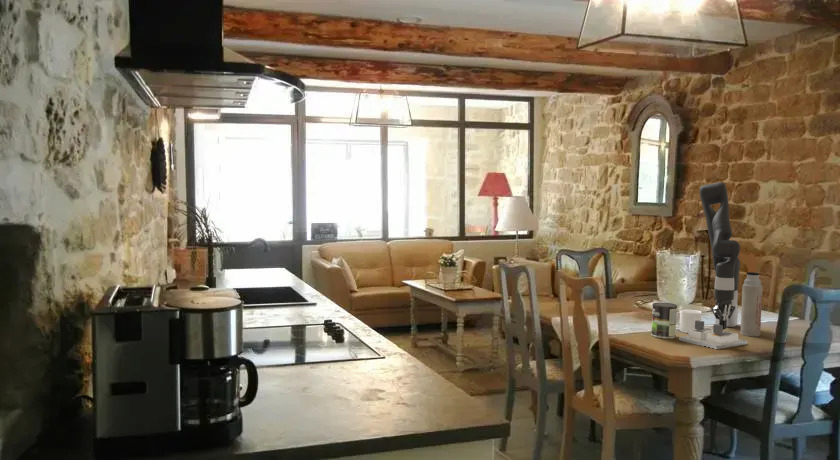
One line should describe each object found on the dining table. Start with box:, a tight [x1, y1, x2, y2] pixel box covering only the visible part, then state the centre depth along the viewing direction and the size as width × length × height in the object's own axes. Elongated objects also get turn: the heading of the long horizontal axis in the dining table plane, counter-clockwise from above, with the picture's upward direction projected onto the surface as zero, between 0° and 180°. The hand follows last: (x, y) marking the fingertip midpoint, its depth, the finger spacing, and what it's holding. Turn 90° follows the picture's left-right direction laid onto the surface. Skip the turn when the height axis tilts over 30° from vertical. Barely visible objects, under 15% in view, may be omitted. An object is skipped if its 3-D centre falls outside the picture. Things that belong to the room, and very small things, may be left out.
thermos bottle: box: [740, 271, 763, 337], centre depth 299 cm, size 8×8×28 cm
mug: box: [676, 309, 702, 334], centre depth 305 cm, size 12×9×9 cm
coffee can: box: [650, 301, 678, 340], centre depth 294 cm, size 10×10×14 cm
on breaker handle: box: [695, 320, 705, 330], centre depth 285 cm, size 2×3×4 cm, turn 30°
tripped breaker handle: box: [712, 323, 724, 334], centre depth 278 cm, size 2×3×4 cm, turn 30°
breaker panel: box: [678, 326, 748, 350], centre depth 283 cm, size 20×18×5 cm
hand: (722, 329), depth 279 cm, fingers closed
